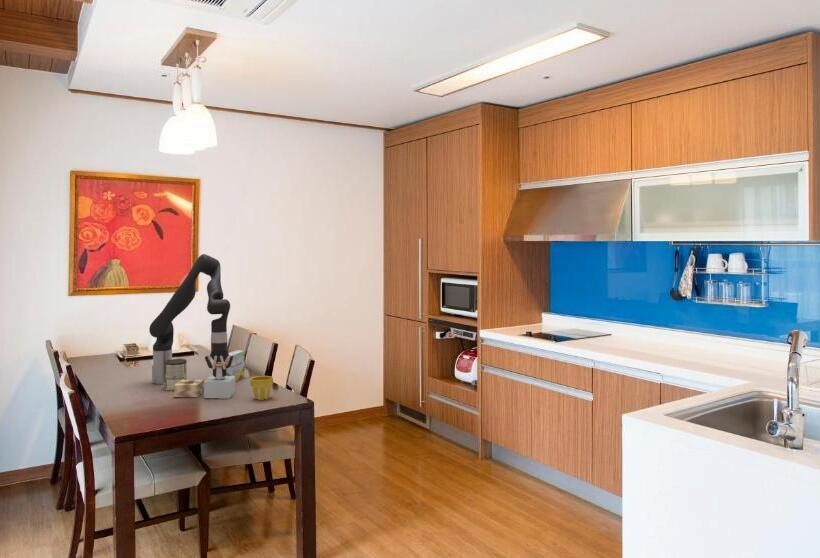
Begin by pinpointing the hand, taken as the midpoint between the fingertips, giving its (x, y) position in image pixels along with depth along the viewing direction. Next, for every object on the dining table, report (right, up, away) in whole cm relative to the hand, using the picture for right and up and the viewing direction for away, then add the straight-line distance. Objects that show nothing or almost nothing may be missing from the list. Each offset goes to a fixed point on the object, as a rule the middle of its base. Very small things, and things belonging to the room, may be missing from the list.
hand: (219, 376), depth 296 cm
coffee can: (-26, -8, +14) cm, 31 cm away
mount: (-15, -9, +2) cm, 18 cm away
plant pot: (+21, -10, -5) cm, 24 cm away
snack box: (-3, -8, +29) cm, 31 cm away
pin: (0, -8, 0) cm, 8 cm away
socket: (0, -9, +1) cm, 9 cm away
